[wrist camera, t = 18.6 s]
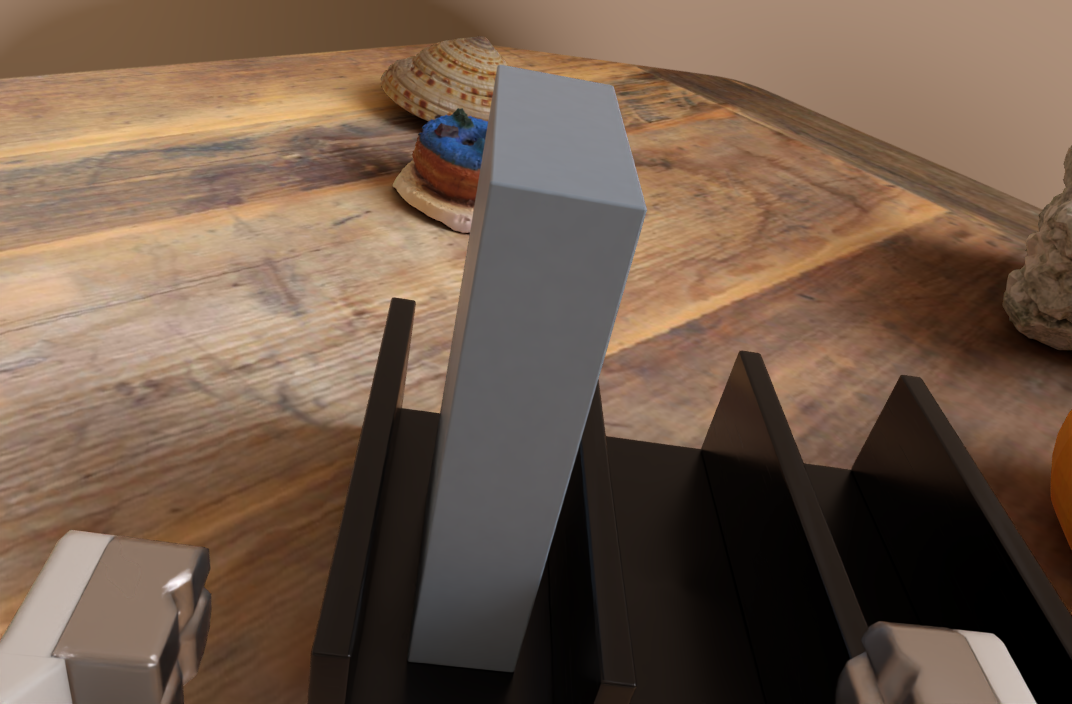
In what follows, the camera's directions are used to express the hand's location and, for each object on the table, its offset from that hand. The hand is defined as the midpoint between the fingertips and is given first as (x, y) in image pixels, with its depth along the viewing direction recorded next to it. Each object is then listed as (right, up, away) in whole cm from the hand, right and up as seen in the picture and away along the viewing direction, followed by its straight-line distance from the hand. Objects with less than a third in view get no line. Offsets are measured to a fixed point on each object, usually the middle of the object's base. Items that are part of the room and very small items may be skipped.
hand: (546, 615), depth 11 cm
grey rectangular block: (-2, -2, +12) cm, 12 cm away
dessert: (-3, +11, +32) cm, 34 cm away
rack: (+3, -4, +13) cm, 14 cm away
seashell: (-5, +17, +41) cm, 45 cm away
